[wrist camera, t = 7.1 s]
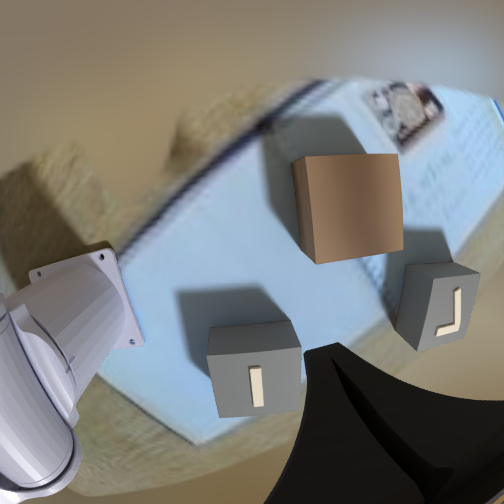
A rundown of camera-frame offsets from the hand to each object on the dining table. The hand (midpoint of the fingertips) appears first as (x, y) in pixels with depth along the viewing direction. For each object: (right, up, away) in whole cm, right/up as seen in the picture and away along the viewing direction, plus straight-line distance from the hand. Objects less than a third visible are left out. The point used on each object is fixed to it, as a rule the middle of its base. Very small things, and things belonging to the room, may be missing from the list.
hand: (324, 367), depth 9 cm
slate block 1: (-3, -4, +12) cm, 13 cm away
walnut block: (+3, +8, +9) cm, 13 cm away
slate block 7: (+13, 0, +12) cm, 17 cm away
